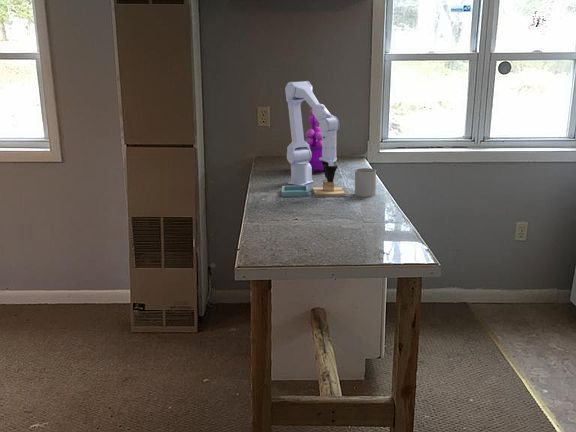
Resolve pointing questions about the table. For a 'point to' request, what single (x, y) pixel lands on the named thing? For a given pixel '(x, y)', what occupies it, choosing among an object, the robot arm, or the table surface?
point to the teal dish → (295, 191)
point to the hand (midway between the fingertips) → (329, 180)
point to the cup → (365, 182)
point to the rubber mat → (333, 195)
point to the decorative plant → (314, 144)
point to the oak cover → (328, 189)
